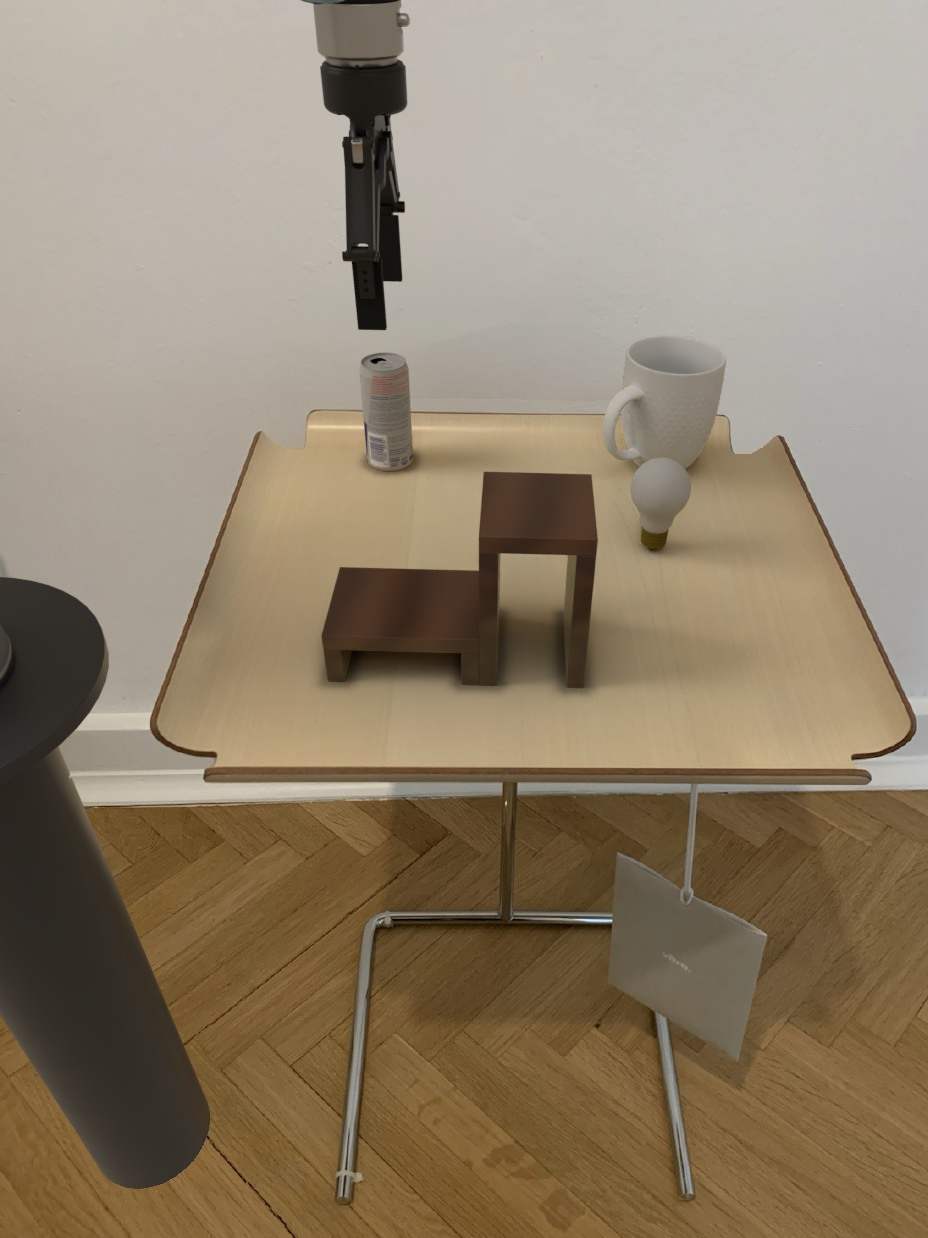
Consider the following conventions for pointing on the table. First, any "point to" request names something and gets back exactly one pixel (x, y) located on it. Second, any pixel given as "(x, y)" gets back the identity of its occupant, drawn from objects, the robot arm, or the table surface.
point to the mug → (666, 399)
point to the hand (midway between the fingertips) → (381, 303)
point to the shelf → (474, 583)
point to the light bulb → (659, 498)
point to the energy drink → (386, 411)
